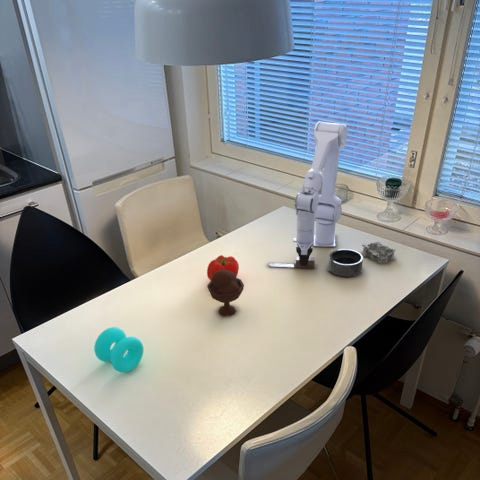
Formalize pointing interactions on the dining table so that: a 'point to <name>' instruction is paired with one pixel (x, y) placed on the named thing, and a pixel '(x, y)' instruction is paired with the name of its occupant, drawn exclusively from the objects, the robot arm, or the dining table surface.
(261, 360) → the dining table surface
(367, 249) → the egg carton
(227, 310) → the ice cream bowl
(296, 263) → the knife
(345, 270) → the bowl
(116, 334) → the donuts
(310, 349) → the dining table surface
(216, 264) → the tomato
